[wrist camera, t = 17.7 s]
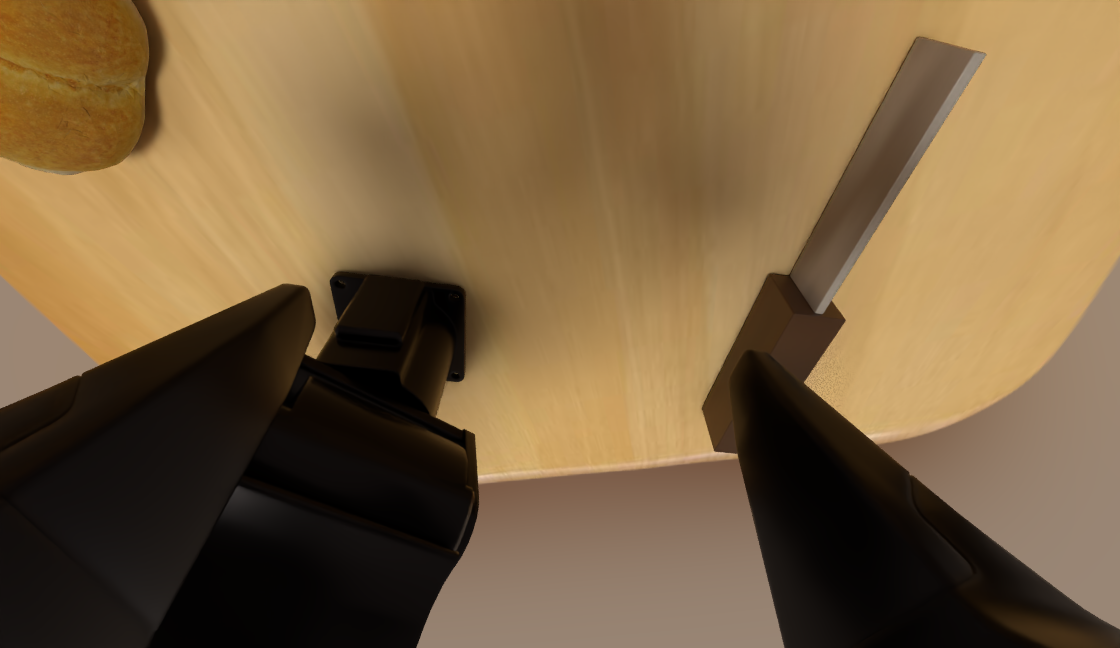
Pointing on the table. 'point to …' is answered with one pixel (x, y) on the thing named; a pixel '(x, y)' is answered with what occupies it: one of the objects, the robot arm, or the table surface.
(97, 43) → the bread roll
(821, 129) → the table surface
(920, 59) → the knife
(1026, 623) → the robot arm
